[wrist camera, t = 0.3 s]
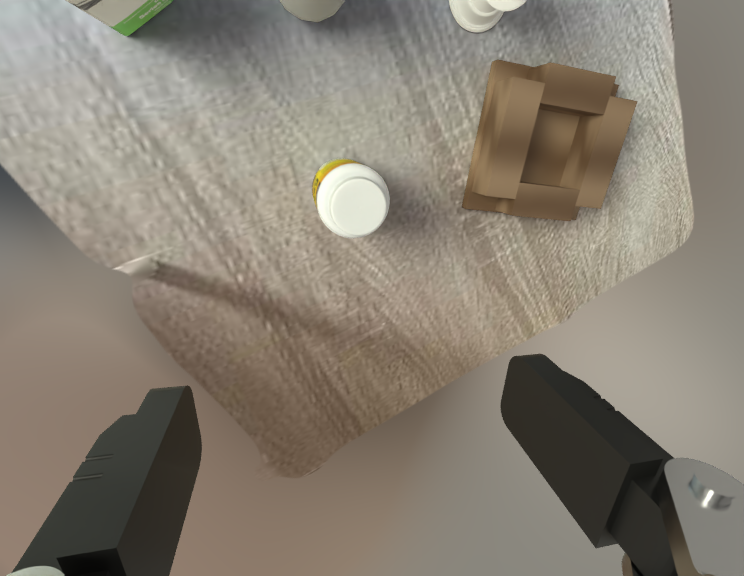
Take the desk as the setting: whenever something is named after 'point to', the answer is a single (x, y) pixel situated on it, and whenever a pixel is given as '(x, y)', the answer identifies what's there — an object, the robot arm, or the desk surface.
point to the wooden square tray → (546, 141)
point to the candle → (481, 12)
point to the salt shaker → (312, 8)
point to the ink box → (122, 12)
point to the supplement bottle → (350, 198)
